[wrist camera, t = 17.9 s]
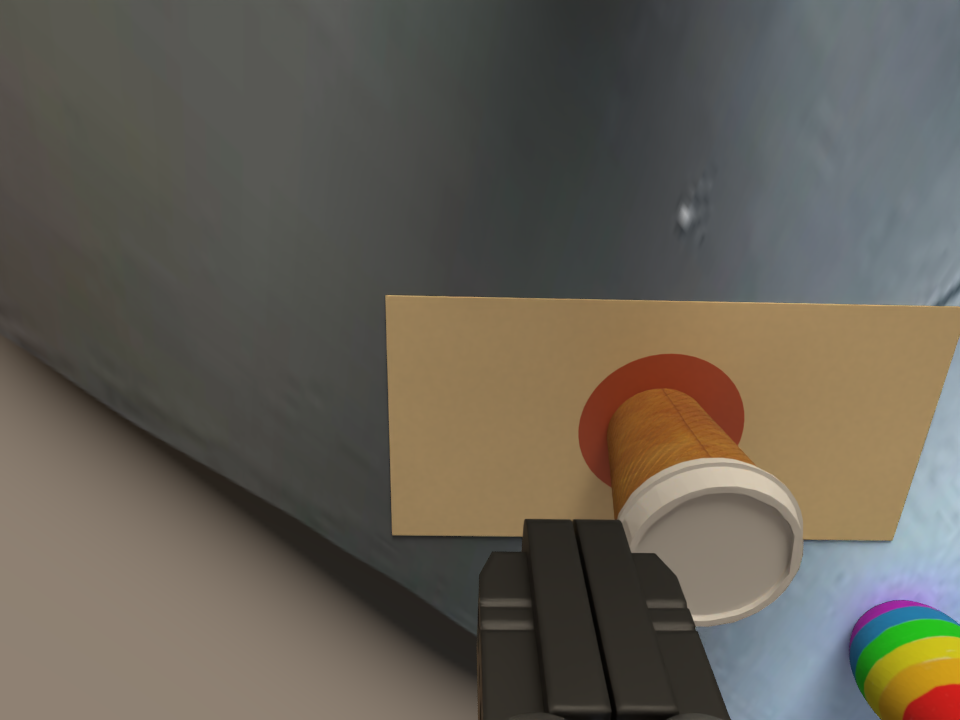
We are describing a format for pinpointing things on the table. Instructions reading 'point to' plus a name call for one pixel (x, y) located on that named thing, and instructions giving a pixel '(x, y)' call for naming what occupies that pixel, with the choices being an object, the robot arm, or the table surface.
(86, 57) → the table surface
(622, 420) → the disposable coffee cup
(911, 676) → the decorative egg
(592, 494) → the placemat
